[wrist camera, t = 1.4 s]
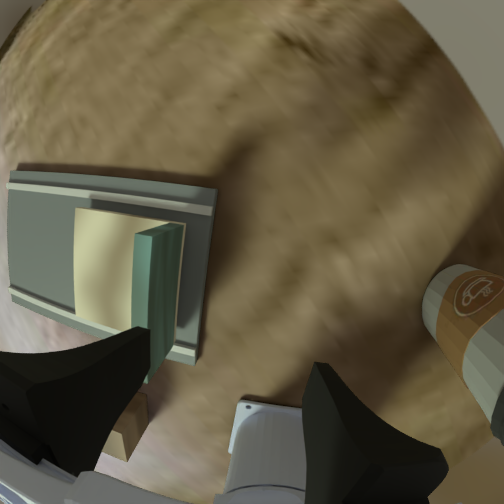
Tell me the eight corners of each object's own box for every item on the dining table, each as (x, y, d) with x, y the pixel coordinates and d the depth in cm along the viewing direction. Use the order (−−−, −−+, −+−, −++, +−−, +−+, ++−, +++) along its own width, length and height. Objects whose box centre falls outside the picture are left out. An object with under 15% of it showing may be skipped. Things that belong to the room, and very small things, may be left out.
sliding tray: (190, 222, 20) (152, 236, 14) (179, 337, 22) (147, 383, 16) (85, 206, 21) (30, 214, 15) (84, 309, 23) (39, 340, 16)
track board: (218, 189, 21) (214, 189, 19) (197, 360, 24) (193, 368, 22) (15, 170, 22) (7, 170, 21) (16, 299, 25) (9, 302, 24)
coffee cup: (469, 230, 19) (613, 280, 5) (493, 307, 20) (597, 386, 5) (392, 288, 21) (509, 412, 6) (426, 360, 22) (506, 480, 7)
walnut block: (146, 394, 25) (121, 433, 19) (148, 424, 26) (127, 462, 20) (107, 380, 25) (78, 414, 20) (111, 410, 26) (86, 444, 20)
